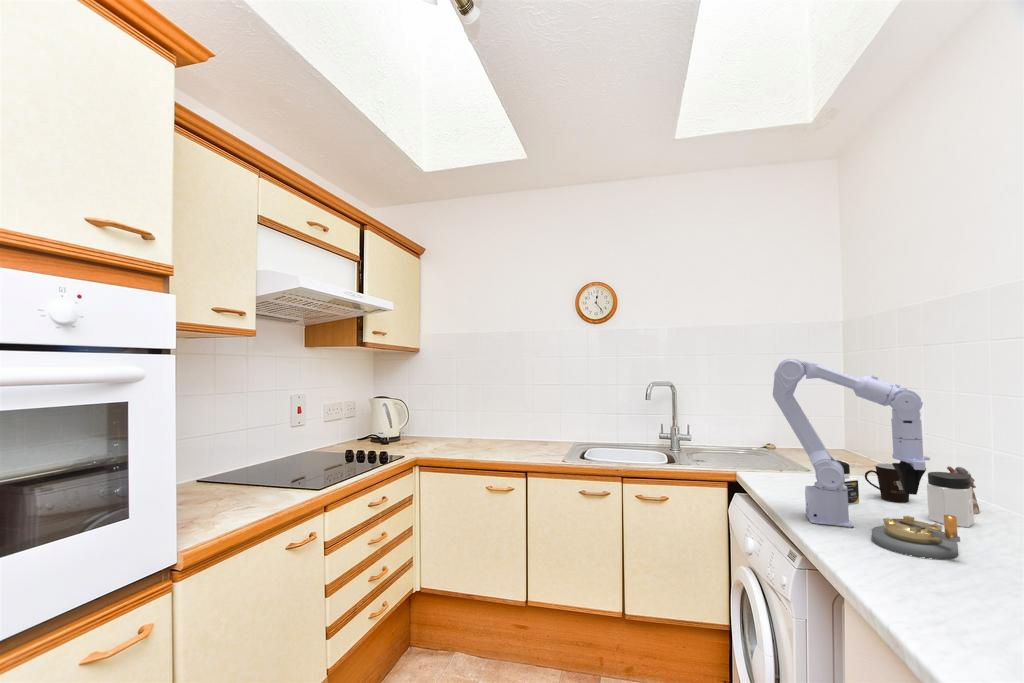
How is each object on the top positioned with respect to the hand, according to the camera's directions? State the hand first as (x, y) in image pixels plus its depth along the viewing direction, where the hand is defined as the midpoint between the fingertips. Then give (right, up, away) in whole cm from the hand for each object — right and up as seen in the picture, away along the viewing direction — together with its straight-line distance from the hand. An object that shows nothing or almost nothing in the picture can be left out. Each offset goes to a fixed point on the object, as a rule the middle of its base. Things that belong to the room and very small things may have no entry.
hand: (910, 493), depth 116 cm
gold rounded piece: (-6, -7, -10) cm, 14 cm away
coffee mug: (+16, -11, +27) cm, 34 cm away
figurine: (+28, -10, +16) cm, 34 cm away
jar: (+16, -10, +7) cm, 20 cm away
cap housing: (-7, -9, -8) cm, 14 cm away
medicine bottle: (+1, -11, +26) cm, 29 cm away
